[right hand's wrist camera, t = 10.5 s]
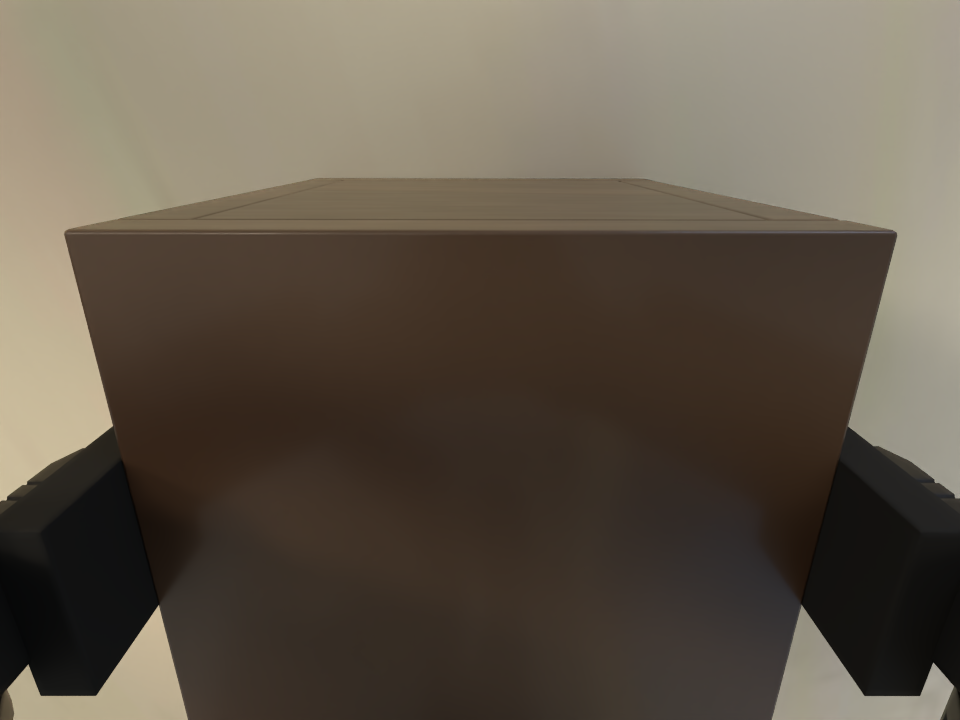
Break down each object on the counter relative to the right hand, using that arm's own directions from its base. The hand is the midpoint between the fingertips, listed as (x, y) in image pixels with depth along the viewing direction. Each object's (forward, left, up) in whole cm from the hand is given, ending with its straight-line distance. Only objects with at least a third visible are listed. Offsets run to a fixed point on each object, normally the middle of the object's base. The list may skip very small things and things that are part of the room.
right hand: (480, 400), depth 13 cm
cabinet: (+3, -5, -7) cm, 9 cm away
